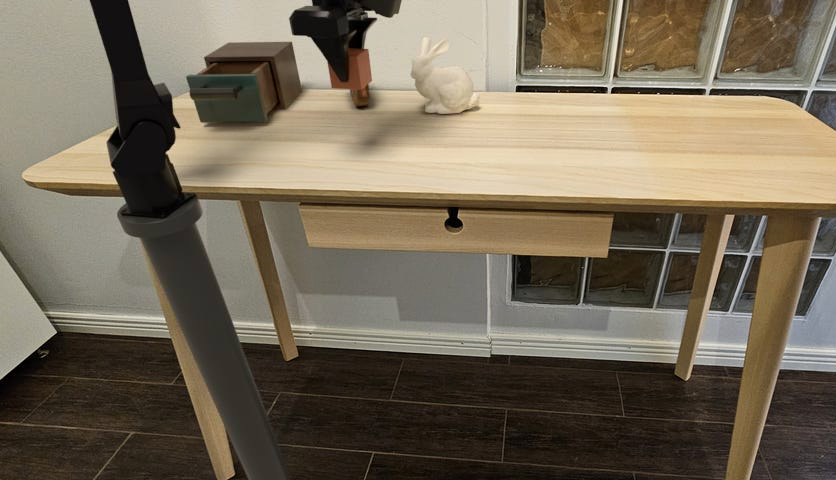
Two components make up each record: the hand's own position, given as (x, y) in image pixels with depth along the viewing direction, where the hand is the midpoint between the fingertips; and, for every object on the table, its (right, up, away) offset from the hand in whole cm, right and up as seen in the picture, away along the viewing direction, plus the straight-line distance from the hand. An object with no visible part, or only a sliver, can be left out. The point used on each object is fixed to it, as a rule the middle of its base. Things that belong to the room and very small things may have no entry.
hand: (350, 77), depth 77 cm
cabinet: (-25, +6, +29) cm, 38 cm away
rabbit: (+11, +3, +24) cm, 26 cm away
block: (0, -1, +1) cm, 1 cm away
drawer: (-25, 0, +19) cm, 31 cm away
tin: (-5, +6, +28) cm, 29 cm away
